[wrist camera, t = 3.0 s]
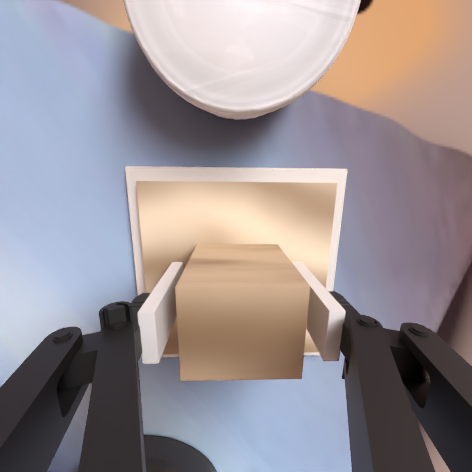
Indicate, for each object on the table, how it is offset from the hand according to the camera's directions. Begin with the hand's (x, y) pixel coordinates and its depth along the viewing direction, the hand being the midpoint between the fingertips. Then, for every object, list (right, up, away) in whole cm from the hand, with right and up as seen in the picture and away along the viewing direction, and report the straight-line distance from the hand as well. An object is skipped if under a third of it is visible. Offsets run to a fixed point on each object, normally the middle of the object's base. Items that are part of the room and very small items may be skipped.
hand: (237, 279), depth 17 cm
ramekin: (0, +16, -1) cm, 16 cm away
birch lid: (0, 0, +1) cm, 1 cm away
